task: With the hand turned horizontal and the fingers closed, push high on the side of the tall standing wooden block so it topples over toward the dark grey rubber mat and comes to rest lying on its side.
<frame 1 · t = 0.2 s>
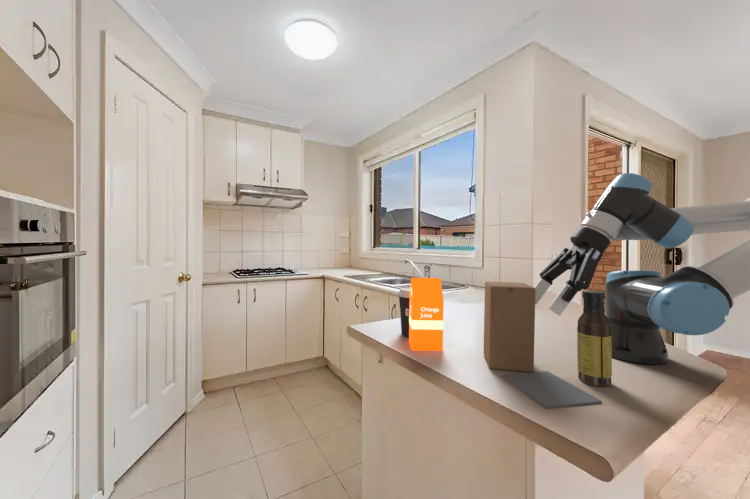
hand: (541, 306, 77), 15 cm above the table, tool tilted 35°, fingers open, 13 cm apart
sauce bottle: (593, 382, 69), on the table
orange juice: (425, 347, 92), on the table
mat: (547, 388, 65), on the table
wooden block: (506, 364, 79), on the table
coffee cup: (411, 335, 103), on the table
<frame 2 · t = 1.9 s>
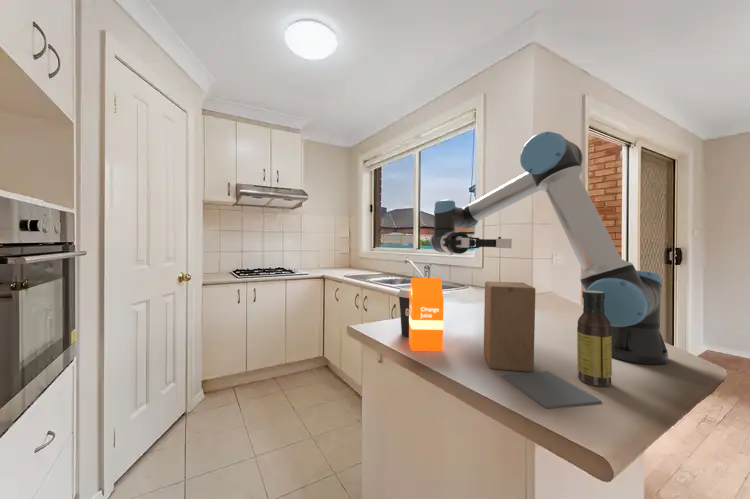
hand: (489, 243, 88), 30 cm above the table, tool horizontal, fingers open, 12 cm apart
nothing on the table moved.
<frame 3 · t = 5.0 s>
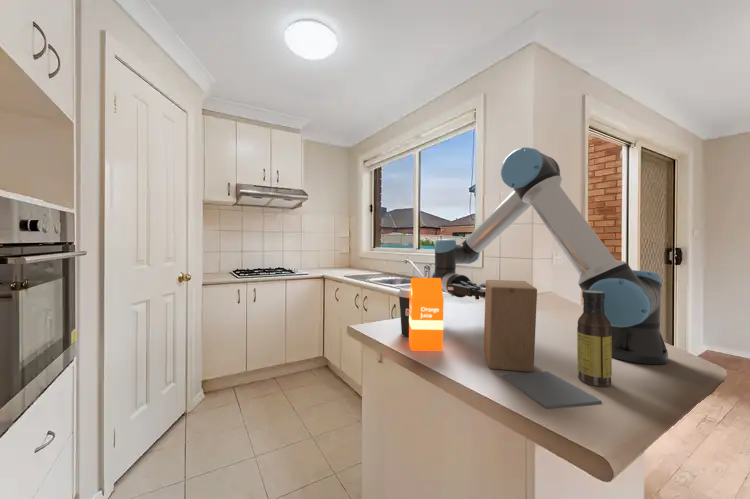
hand: (495, 296, 84), 16 cm above the table, tool horizontal, fingers closed
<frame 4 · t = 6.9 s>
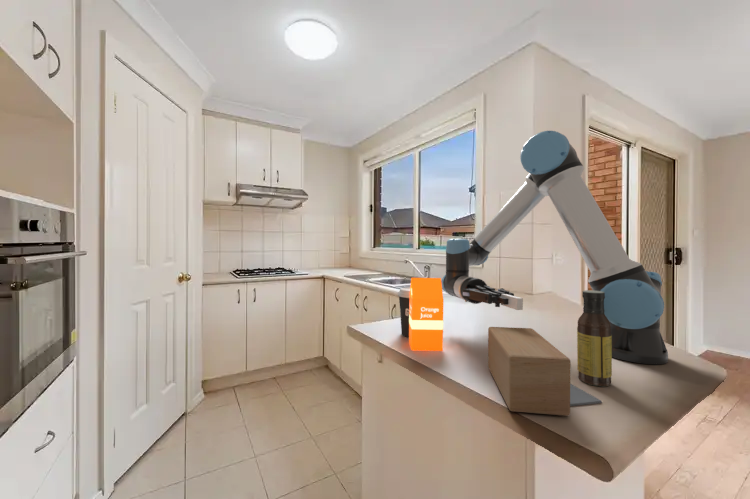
hand: (519, 304, 73), 16 cm above the table, tool horizontal, fingers closed
wooden block: (509, 347, 74), point 5 cm above the table, touching mat
everything else where it was.
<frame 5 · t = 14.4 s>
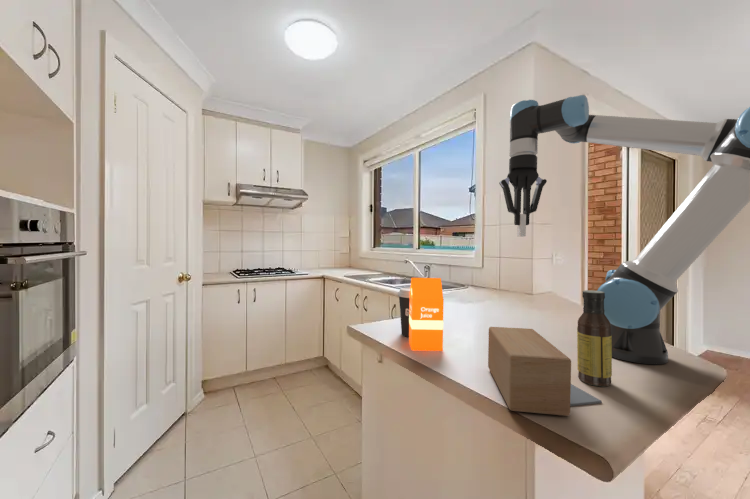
hand: (521, 236, 93), 32 cm above the table, tool pointing down, fingers closed
nothing on the table moved.
at the end: wooden block tilted 90°; wooden block 9.9 cm from the mat (horizontally) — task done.
